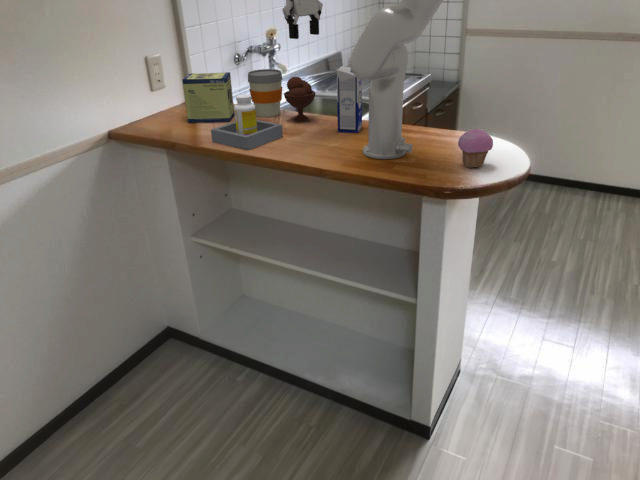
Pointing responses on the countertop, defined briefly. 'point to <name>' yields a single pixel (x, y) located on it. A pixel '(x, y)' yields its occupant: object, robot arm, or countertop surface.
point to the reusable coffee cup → (266, 91)
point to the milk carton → (349, 101)
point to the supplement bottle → (245, 115)
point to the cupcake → (475, 147)
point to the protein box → (208, 97)
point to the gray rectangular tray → (247, 142)
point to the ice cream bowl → (299, 96)
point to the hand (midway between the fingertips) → (304, 36)
